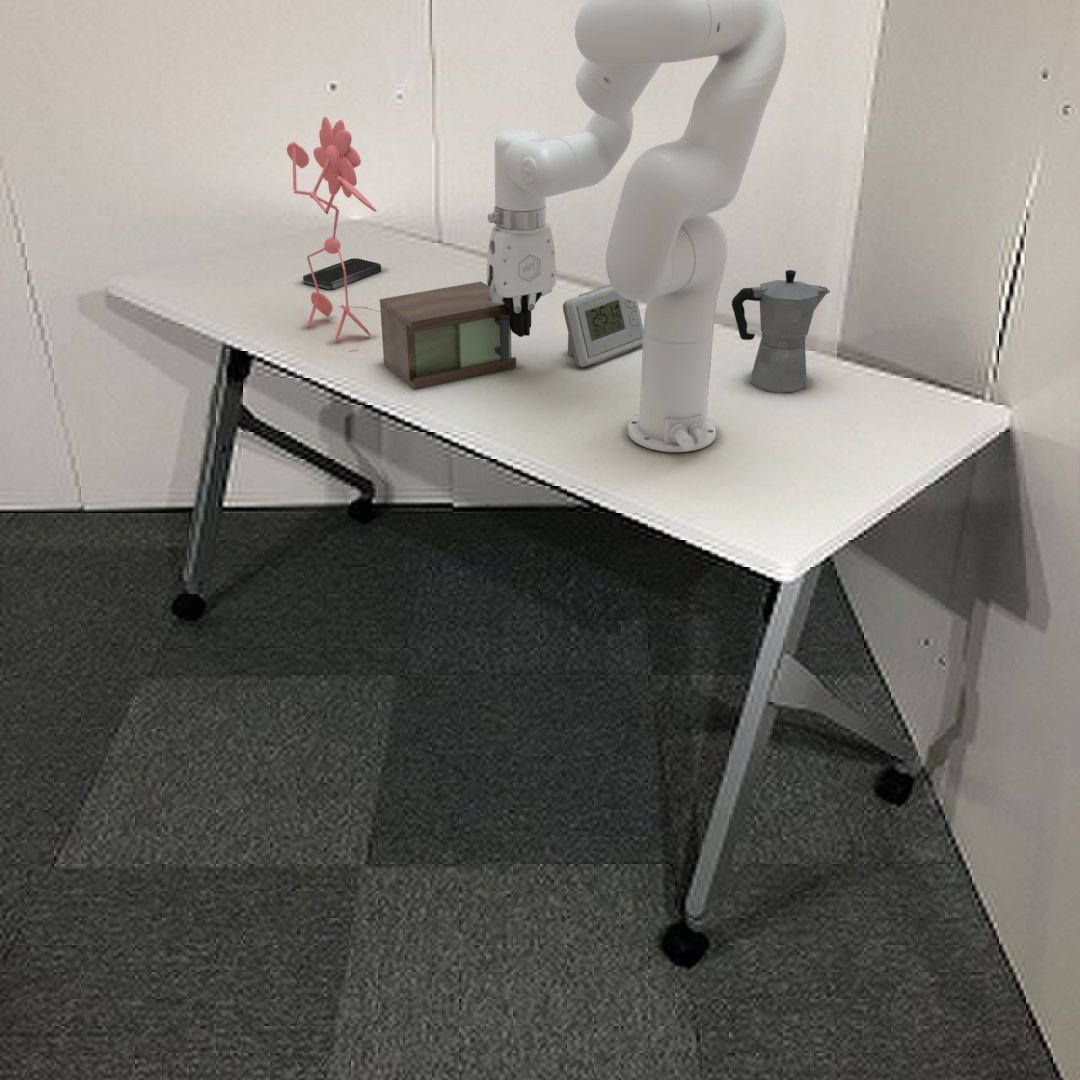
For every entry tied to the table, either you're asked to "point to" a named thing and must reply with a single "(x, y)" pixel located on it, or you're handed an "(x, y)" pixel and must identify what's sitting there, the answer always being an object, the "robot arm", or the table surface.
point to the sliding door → (484, 341)
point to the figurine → (339, 173)
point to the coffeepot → (780, 330)
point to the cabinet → (435, 333)
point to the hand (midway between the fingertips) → (520, 333)
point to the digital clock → (601, 326)
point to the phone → (342, 273)
